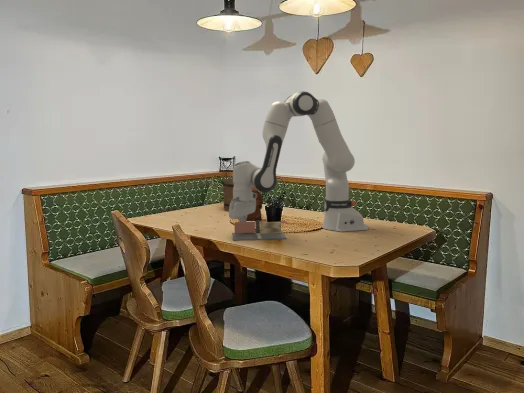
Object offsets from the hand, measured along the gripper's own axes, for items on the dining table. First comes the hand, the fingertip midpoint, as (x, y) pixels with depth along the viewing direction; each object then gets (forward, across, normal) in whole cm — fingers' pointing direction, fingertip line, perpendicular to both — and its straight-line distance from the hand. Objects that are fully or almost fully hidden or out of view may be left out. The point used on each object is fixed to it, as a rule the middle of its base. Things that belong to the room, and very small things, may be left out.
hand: (242, 224), depth 226 cm
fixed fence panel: (+3, +3, -12) cm, 13 cm away
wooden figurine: (+4, +26, +9) cm, 28 cm away
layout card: (+4, -4, -10) cm, 12 cm away
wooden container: (+4, +51, +33) cm, 61 cm away
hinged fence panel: (+3, -3, -3) cm, 5 cm away
